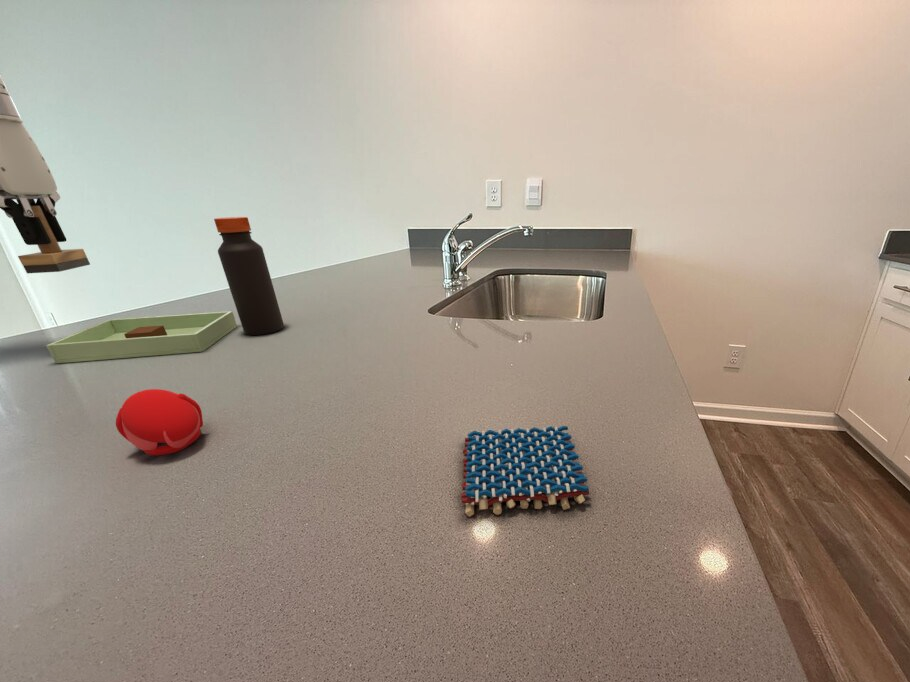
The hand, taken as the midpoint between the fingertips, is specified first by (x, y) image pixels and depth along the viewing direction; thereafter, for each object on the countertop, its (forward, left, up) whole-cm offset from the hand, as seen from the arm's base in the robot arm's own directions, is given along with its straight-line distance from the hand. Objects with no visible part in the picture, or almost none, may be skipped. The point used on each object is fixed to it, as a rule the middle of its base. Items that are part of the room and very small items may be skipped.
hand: (46, 242), depth 66 cm
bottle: (+29, -1, -17) cm, 34 cm away
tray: (+12, -4, -17) cm, 21 cm away
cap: (+33, -41, -17) cm, 55 cm away
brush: (0, 0, -4) cm, 4 cm away
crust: (+11, -4, -17) cm, 20 cm away
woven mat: (+68, -54, -17) cm, 88 cm away
